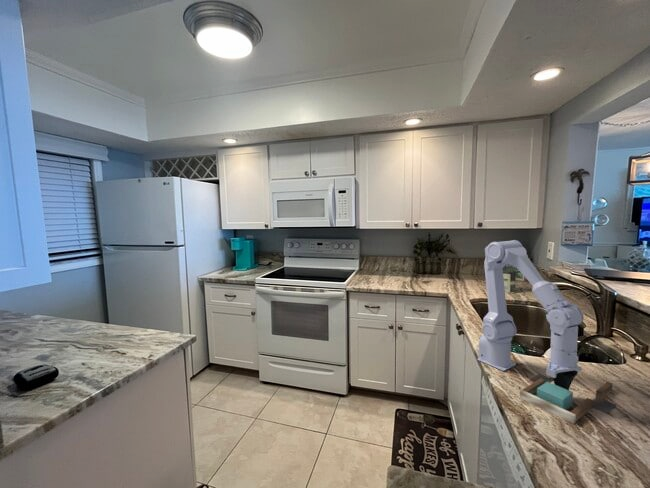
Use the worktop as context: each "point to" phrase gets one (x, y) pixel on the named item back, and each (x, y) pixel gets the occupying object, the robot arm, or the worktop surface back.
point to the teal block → (555, 395)
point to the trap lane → (564, 414)
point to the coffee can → (509, 280)
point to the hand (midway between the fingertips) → (561, 392)
